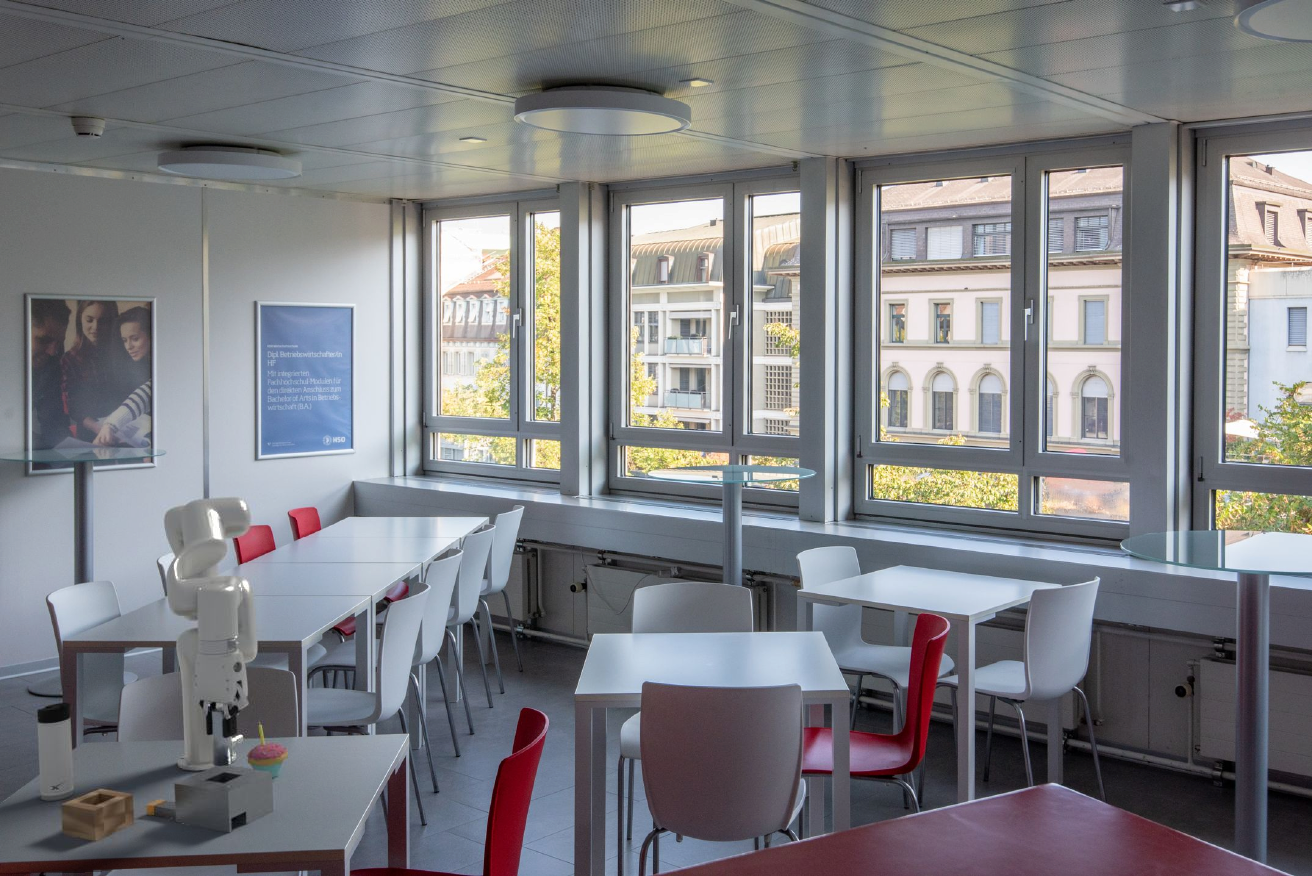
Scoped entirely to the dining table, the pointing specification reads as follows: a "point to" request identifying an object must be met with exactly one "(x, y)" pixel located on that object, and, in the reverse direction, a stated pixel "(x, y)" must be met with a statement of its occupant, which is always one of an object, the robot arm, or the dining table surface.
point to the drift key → (162, 808)
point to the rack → (97, 814)
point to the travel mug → (55, 752)
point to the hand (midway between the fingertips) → (221, 733)
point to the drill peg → (220, 740)
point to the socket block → (223, 797)
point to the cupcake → (267, 756)
